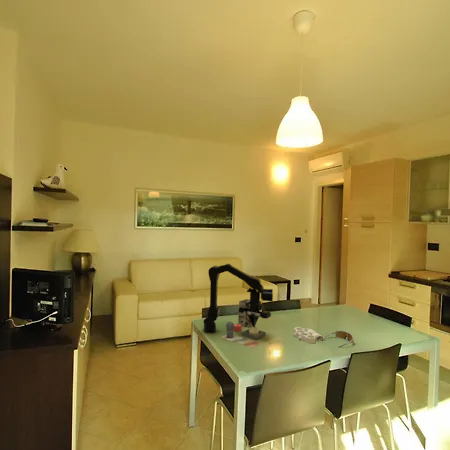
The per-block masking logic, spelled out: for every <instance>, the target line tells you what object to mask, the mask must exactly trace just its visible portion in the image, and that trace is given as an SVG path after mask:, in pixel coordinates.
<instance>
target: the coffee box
mask: <svg viewBox="0 0 450 450" xmlns="http://www.w3.org/2000/svg"><path fill="white" fill-rule="evenodd" d="M249 302H250V299H247V298H246V299H244V300H240V301H239V302H238V309H239V308H240V307H242V306H247V307H249V308H250V304H249ZM237 318H238V320H237V321H238V322H237V324H239V325H242V328H248V329H249V328H251V327H253V326H252V323H251V321H250V319H249V317H248V316H247V312H246V311H244V312H243V313H240V312H239V311H238V317H237Z"/></svg>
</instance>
